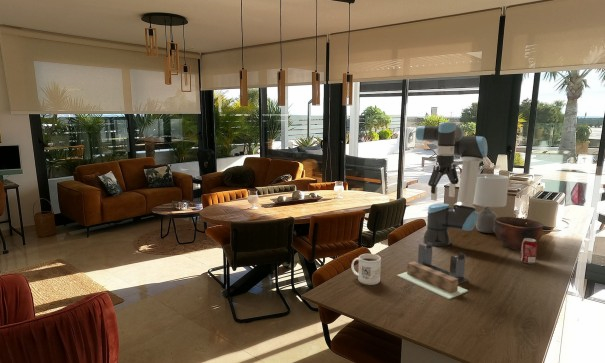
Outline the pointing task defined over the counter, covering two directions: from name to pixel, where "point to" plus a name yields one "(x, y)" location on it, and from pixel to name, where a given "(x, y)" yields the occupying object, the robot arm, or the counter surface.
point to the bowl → (516, 230)
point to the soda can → (528, 251)
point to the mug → (368, 268)
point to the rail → (433, 277)
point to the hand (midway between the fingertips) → (442, 198)
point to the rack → (455, 268)
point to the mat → (431, 287)
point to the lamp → (489, 199)
